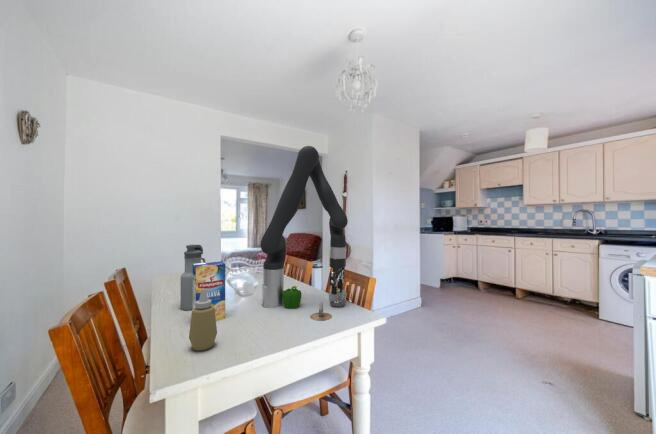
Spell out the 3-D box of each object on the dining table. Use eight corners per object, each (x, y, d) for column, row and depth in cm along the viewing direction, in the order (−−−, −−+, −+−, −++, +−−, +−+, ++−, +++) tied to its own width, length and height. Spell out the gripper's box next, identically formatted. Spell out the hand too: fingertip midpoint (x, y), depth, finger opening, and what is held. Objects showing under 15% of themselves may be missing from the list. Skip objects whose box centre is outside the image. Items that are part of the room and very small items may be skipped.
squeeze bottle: (195, 341, 87) (195, 286, 87) (220, 340, 88) (220, 286, 88) (184, 353, 79) (184, 293, 79) (212, 352, 80) (212, 293, 80)
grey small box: (341, 302, 118) (341, 293, 118) (329, 300, 120) (329, 291, 120) (345, 298, 123) (345, 289, 123) (333, 296, 125) (333, 288, 125)
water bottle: (189, 302, 126) (189, 243, 125) (209, 303, 125) (209, 243, 125) (175, 310, 115) (175, 246, 115) (196, 311, 115) (196, 246, 114)
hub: (331, 311, 115) (332, 292, 115) (323, 304, 124) (323, 287, 124) (352, 308, 119) (352, 290, 119) (342, 301, 128) (342, 284, 128)
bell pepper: (279, 306, 120) (279, 284, 120) (295, 303, 125) (295, 282, 125) (287, 312, 113) (288, 289, 113) (304, 308, 118) (304, 286, 118)
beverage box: (192, 319, 106) (192, 264, 106) (220, 313, 112) (221, 261, 112) (195, 324, 100) (195, 266, 100) (225, 318, 107) (225, 263, 107)
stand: (314, 323, 102) (314, 308, 102) (307, 315, 110) (307, 301, 110) (335, 320, 105) (335, 305, 105) (327, 312, 114) (327, 298, 113)
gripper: (335, 254, 130) (334, 287, 130) (324, 258, 116) (323, 295, 117) (350, 255, 127) (349, 288, 127) (340, 259, 114) (339, 297, 114)
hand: (337, 291), depth 122 cm, fingers open, 8 cm apart
